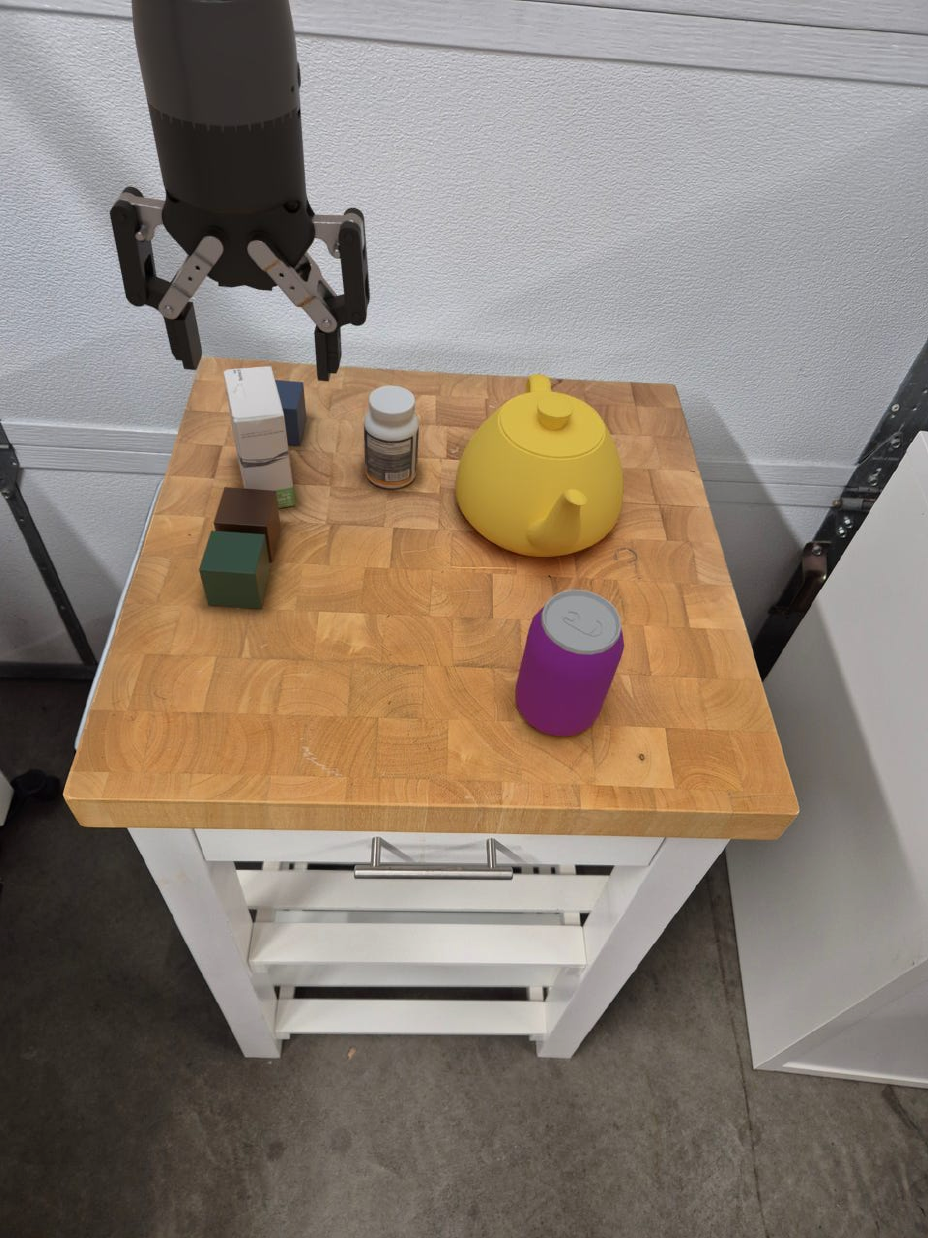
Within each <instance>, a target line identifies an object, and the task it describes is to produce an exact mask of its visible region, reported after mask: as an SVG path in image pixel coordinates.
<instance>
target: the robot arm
mask: <svg viewBox="0 0 928 1238" xmlns="http://www.w3.org/2000/svg"><path fill="white" fill-rule="evenodd" d="M130 1H131V16H132V29H133V36H134V42H135V47H136V53H137V57H138V63H139V67H140V73H141V78H142V84H143V88H144V93H145V98H146V103H147V104H146V105H147V108H148V114H149V118H150V123H151V124H150V125H151V130H152V134H153V139H154V143H155V149H156V154H157V158H158V165H159V171H160V175H161V179H162V184H163V188H164V191H165V200H162V199H156V198H148V197H145V196H144V194H143V193H142V192H141V190H139V189H138V188H137V187H135V186H131V185H129V186H126V187H125V188H123V190H122V192H121V193H120V194H119V196H118V198H117V199H116V201H115V202H114V203H113V205H112V207H111V208H110V210H109V218H110V223H111V228H112V232H113V238H114V244H115V248H116V253H117V259H118V264H119V268H120V274H121V279H122V284H123V289H124V294H125V299H126V300H127V302H128V303H129V304H130V305H131V306H134V307H137V308H138V307H139V308H140V307H141V308H142V307H144V306H147V307H150V308H153V309H155V310H156V311H158V313H159V314H160V315H161V316H162V318H163V322H164V325H165V329H166V334H167V338H168V344H169V347H170V352H171V355H172V356H173V358H174V360H176V361H180V362H181V363H182V367H183V369H184V370H187V371H188V370H190V371H197V370H198V368H199V365H200V363H201V361H202V358H203V347H202V342H201V336H200V331H199V327H198V321H197V315H196V311H195V306H194V305H195V304H194V302H193V301H190V299H192V298H193V297H194V295H195V294H196V292H197V290H198V289H199V288H200V287H201V285H202V284H203V282H204V281H205V279H206V277H207V278H208V279H210V280H212V281H214V282H217V286H218V287H220V288H222V287H223V288H230V289H231V288H236V287H238V288H239V287H243V286H245V287H248V288H251V289H255V290H258V291H265V292H272V291H273V289H274V288H275V287H279V289H280V290H281V291H282V293H284V295H285V296H286V297H287V299H288V300H290V302H292V304H293V305H294V306H295V307H297V308H301V309H302V310H303V311H304V312H305V313H306V315H307V316H308V317H309V318H310V320H311V321H313V323H314V325H315V327H314V331H313V334H314V348H315V349H314V350H315V352H314V353H315V364H316V378H317V382H330V378H331V374H333V375H336V374H337V373H338V371H339V369H340V364H341V360H342V357H343V356H342V355H343V353H342V352H343V351H342V329H341V328H342V327H343V326H345V325H352V326H356V327H359V326H363V325H364V324H365V323H366V321H367V318H368V317H367V316H368V306H369V304H370V301H371V291H370V290H371V289H370V277H369V262H368V250H367V237H366V224H365V223H366V222H365V216H364V213H363V212H362V210H361V209H359V208H357V207H348V208H347V209H346V210H345V211H344V212H343V215H341V214H340V215H339V214H316V212H315V211H314V209H313V208H312V206H311V204H310V201H309V198H308V193H307V181H306V170H305V169H306V168H305V154H304V139H303V123H302V110H301V96H300V95H301V94H300V90H301V86H302V77H301V75H302V74H301V67H300V62H299V61H298V51H297V40H296V32H295V26H294V21H293V16H292V10H291V5H290V0H130ZM160 225H163V227H164V229H165V231H166V232H167V233H168V235H170V237H171V238H172V239H173V240H174V241H175V242H176V243H177V244H178V246H180V248H181V249H182V250H183V251H184V252H185V253H186V256H185V258H184V259H183V261H182V263H181V265H180V266H179V267H178V270H177V271H176V273H175V274H174V275H173V277H172V278H171V280H170V281H169V280H166V279H163V278H161V277H159V276H157V269H156V263H155V257H154V251H153V245H152V240H153V239H154V237H155V236H156V234H157V232H158V229H159V226H160ZM315 239H318V240H321V241H322V242H323V243H324V244H325V245H326V247H327V252H328V253H329V255H331V256H332V257H333V258H334V259H339V260H340V267H341V269H340V270H341V278H342V287H343V294H337V293H336V292H335V290H334V289H333V288H332V287H331V286H330V284H329V283H328V282H327V280H326V279H325V278H324V277H323V274H322V271H321V269H320V267H319V265H318V264H317V262H316V261H315V260H314V259H313V257H312V256H311V255H310V254H309V252H308V250H309V249H310V248H311V246H312V245H313V243H314V241H315Z"/></svg>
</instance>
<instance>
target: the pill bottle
mask: <svg viewBox="0 0 928 1238" xmlns="http://www.w3.org/2000/svg"><path fill="white" fill-rule="evenodd" d="M415 411H416V398H415V396H414V394H413V393H412V392H411V391H410V390H409V389H407V388H405V387H403V386H399V385H389V384H387V385H383V386H379V387H377V388H375V389H374V390H373V391H372V392H371V393H370V394H369V397H368V411H367V413H366V414H365V416H364V418H363V419H364V420H363V445H364V446H363V447H364V451H363V452H364V453H363V454H364V472H365V476H366V477H367V478H368V481H370V482H371V483H373V484H374V485H375V486H378V487H380V488H383V489H399V488H403V487H405V486H408V485H410V483H411V482H413V480H415V478H416V476H417V471H418V458H419V457H418V456H419V434H420V421H419V418H418V416H417V414H416V412H415Z"/></svg>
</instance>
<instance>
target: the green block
mask: <svg viewBox="0 0 928 1238" xmlns="http://www.w3.org/2000/svg"><path fill="white" fill-rule="evenodd" d="M198 571H199V576H200V579H201V583H202V587H203V591H204V595H205V599H206V603H207V606H211V607H224V608H225V607H226V608H241V609H252V610H253V609H255V610H261V609H262V608H263V605H264V599H265V597H266V591H267V588H268V583H269V579H270V574H271V565H270V562H269V557H268V551H267V544H266V538H265V535H264V534H252V533H238V532H224V531H215V530H210V532H209V536H208V539H207V543H206V546H205V549H204V552H203V555H202V559H201V562H200V565H199V568H198Z"/></svg>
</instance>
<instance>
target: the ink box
mask: <svg viewBox="0 0 928 1238" xmlns="http://www.w3.org/2000/svg"><path fill="white" fill-rule="evenodd" d="M222 374H223V379H224V383H225V390H226V396H227V397H226V398H227V403H228V404H227V405H228V411H229V416H230V422H231V428H232V434H233V441H234V447H235V451H236V457H237V461H238V466H239V470H240V471H239V472H240V474H241V481H242V485H243V488H245V489H258V490H272V491H276V494H277V502H278V509H281V508H282V509H283V508H287V507H293V506H295V504H296V502H295V492H294V484H293V483H294V482H293V476H292V469H291V459H290V451H289V445H288V443H287V434H286V427H285V419H284V413H283V409H282V405H281V401H280V397H279V394H278V390H277V386H276V382H275V380H276V379H275V375H274V371H273V368H272V366H271V365H266V366H265V365H264V366H255V367H241V368H228V369H225V370H224V371H223V373H222Z"/></svg>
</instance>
